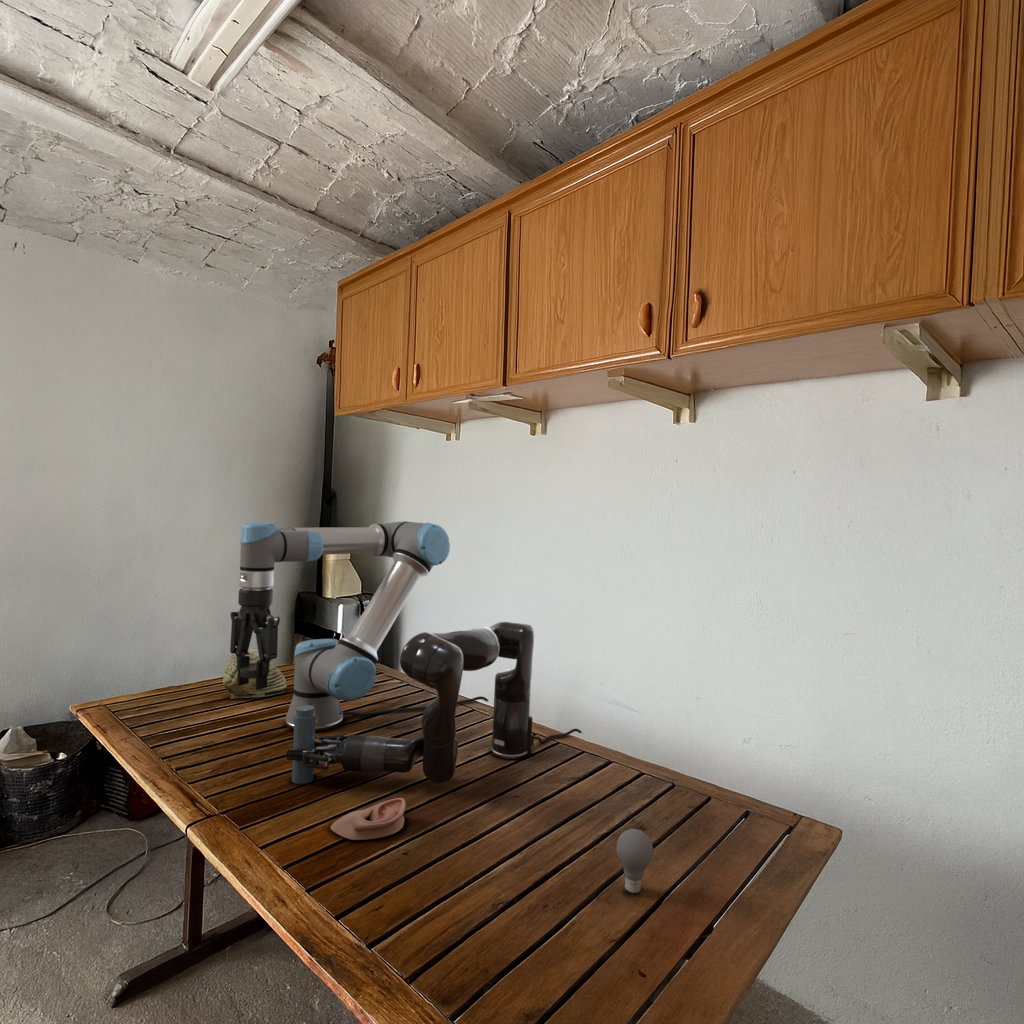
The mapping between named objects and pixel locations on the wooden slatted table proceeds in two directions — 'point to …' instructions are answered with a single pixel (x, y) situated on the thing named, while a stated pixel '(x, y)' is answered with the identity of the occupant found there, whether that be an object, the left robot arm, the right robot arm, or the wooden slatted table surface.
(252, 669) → the lid
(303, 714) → the jar
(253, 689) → the fossil
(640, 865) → the light bulb
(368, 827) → the anatomical model
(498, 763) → the wooden slatted table surface
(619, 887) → the wooden slatted table surface
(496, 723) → the right robot arm
